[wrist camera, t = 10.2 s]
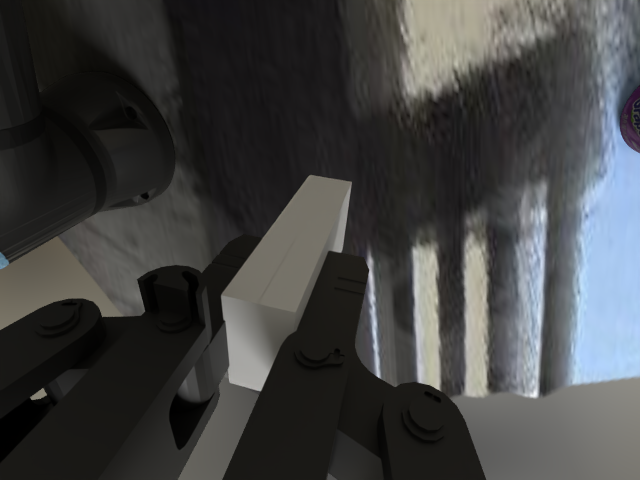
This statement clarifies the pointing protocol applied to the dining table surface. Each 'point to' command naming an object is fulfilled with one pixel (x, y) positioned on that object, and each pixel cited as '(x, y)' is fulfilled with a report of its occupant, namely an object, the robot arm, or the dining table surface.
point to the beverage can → (631, 121)
